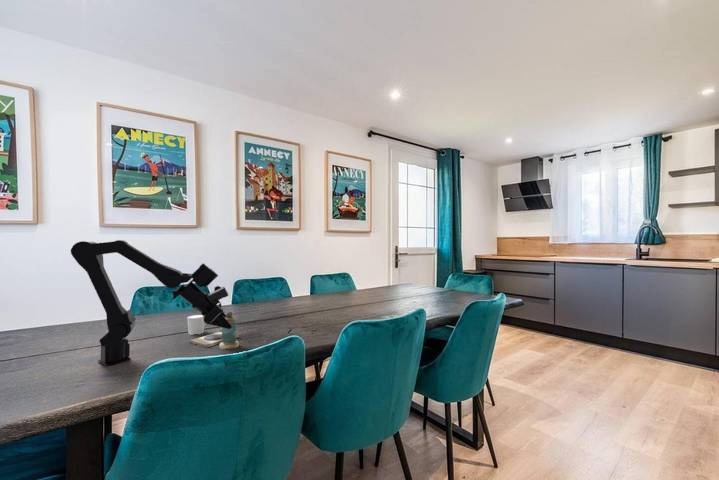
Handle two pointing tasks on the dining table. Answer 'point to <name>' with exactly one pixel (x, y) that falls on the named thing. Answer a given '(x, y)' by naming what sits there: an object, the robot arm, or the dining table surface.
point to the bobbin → (229, 334)
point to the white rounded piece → (195, 324)
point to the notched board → (210, 339)
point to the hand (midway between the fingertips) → (230, 324)
